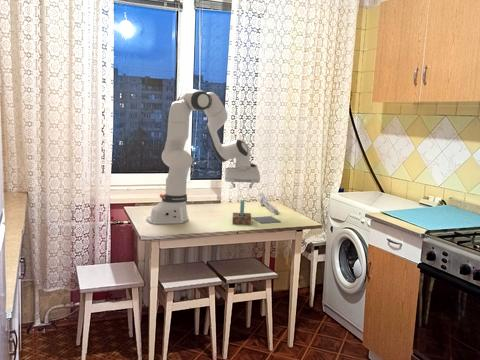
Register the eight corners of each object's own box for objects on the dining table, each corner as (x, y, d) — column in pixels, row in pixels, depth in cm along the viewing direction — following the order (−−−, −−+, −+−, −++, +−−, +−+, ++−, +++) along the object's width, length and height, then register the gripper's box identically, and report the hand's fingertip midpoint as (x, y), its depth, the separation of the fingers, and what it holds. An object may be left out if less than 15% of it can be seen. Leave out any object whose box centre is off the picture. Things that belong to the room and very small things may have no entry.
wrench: (275, 219, 275) (257, 203, 302) (277, 219, 276) (260, 202, 303) (276, 206, 273) (258, 191, 300) (279, 206, 274) (261, 191, 301)
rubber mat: (261, 223, 252) (261, 222, 252) (251, 218, 263) (251, 217, 263) (280, 222, 257) (280, 221, 257) (270, 217, 268) (270, 216, 268)
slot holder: (232, 224, 249) (232, 216, 248) (232, 219, 259) (232, 212, 258) (251, 224, 249) (251, 217, 249) (250, 220, 259) (250, 213, 259)
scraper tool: (239, 222, 253) (240, 201, 251) (239, 221, 256) (240, 200, 254) (243, 222, 253) (244, 201, 251) (243, 221, 256) (244, 200, 254)
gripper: (224, 164, 269) (224, 183, 261) (260, 165, 269) (260, 184, 261) (224, 170, 274) (223, 189, 266) (259, 171, 274) (259, 191, 266)
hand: (242, 187), depth 263 cm, fingers open, 8 cm apart
